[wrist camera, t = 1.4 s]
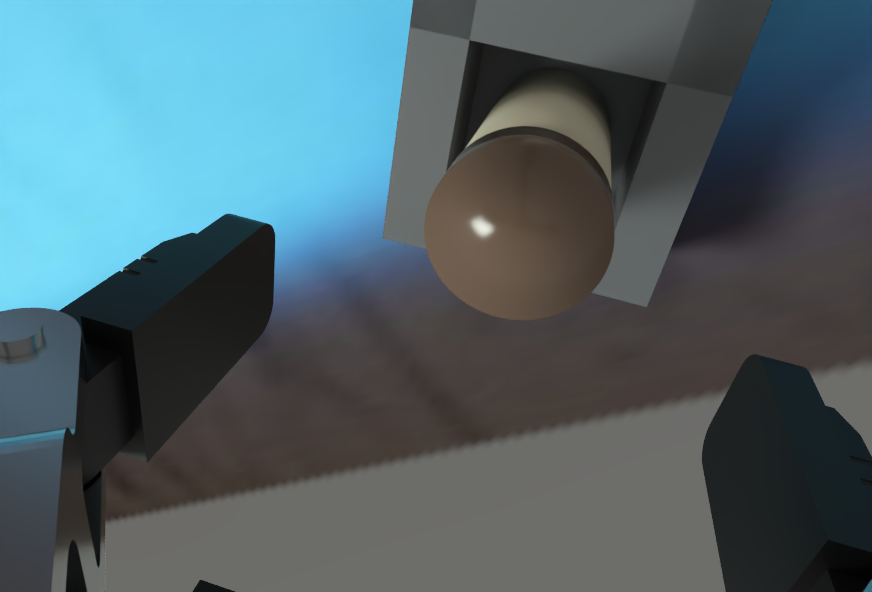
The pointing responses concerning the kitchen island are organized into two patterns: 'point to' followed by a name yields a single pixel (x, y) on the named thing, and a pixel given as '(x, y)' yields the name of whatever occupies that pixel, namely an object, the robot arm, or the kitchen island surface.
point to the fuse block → (613, 77)
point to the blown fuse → (528, 201)
